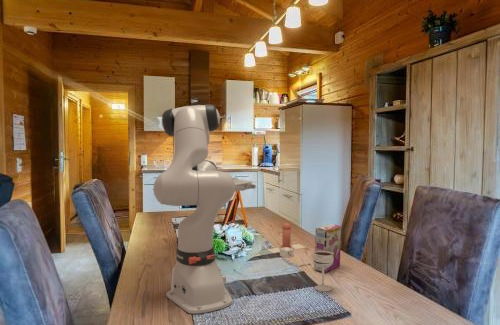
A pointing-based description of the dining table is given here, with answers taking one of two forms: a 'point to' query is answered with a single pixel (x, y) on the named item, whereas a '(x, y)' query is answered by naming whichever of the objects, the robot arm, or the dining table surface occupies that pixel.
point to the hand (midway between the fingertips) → (249, 187)
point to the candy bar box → (329, 243)
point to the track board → (277, 250)
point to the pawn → (286, 236)
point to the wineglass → (323, 264)
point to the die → (286, 252)
